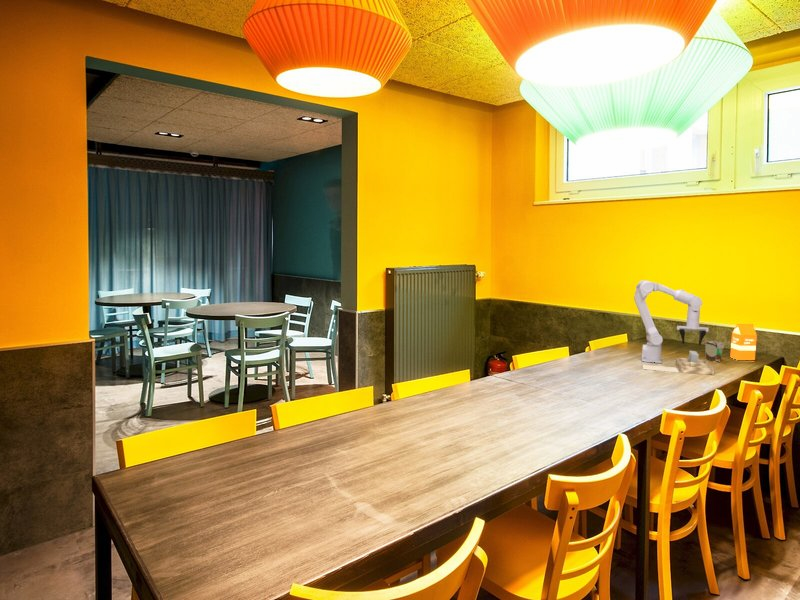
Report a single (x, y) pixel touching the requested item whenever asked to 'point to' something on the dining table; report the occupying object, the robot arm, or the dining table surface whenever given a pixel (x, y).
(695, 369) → the wooden tray
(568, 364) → the dining table surface
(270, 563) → the dining table surface
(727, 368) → the dining table surface
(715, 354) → the food container
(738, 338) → the orange juice
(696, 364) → the offcut block top
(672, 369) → the beige panel
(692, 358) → the tall block
